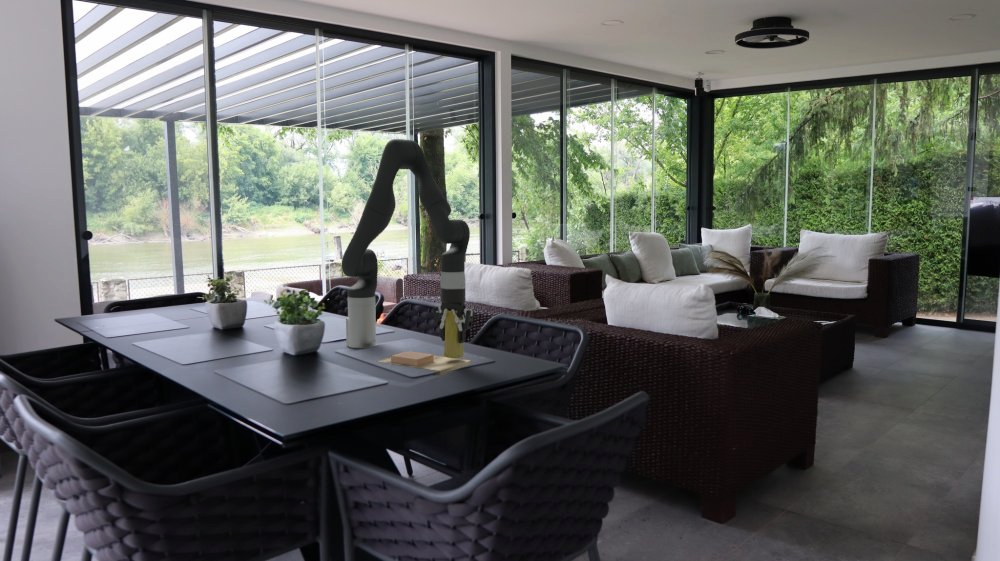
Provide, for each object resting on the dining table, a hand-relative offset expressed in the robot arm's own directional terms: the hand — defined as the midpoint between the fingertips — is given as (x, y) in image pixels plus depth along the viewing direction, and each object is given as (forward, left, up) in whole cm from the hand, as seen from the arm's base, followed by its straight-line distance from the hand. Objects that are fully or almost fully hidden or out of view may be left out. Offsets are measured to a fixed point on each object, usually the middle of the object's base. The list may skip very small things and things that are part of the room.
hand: (453, 341), depth 221 cm
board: (-8, -5, -7) cm, 12 cm away
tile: (-15, -8, -5) cm, 17 cm away
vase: (0, 0, -5) cm, 5 cm away
